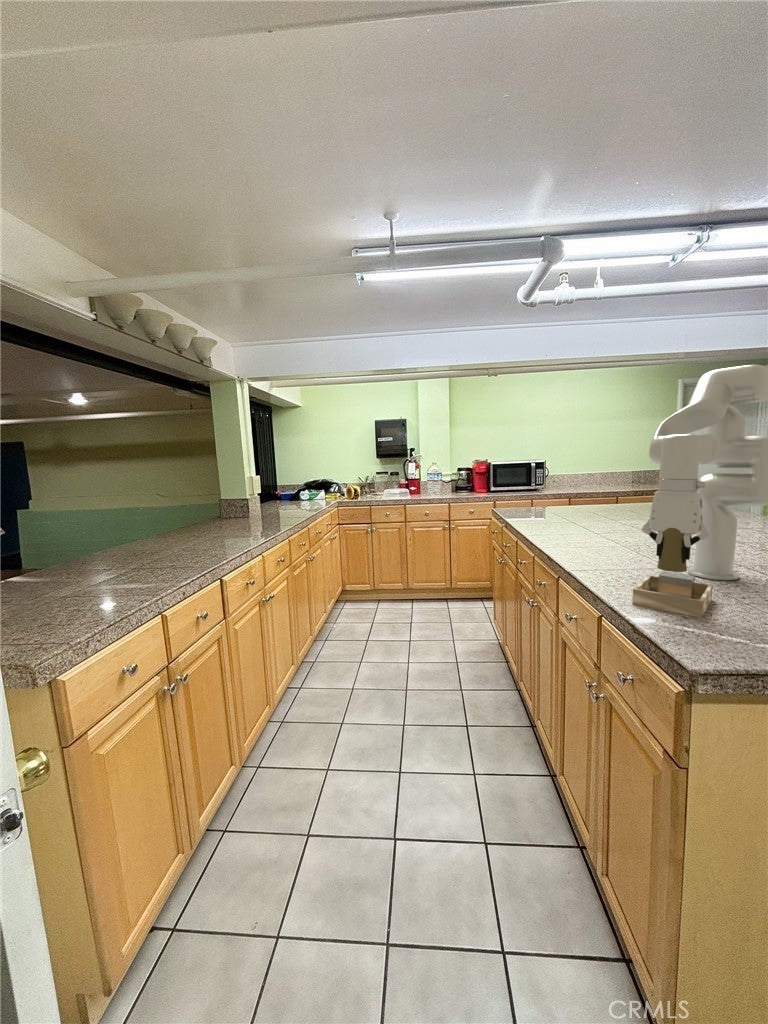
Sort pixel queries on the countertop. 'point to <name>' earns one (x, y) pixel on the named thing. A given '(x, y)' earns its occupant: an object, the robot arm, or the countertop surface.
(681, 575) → the tin
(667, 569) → the cork
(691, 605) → the tray
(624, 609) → the countertop surface
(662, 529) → the robot arm
